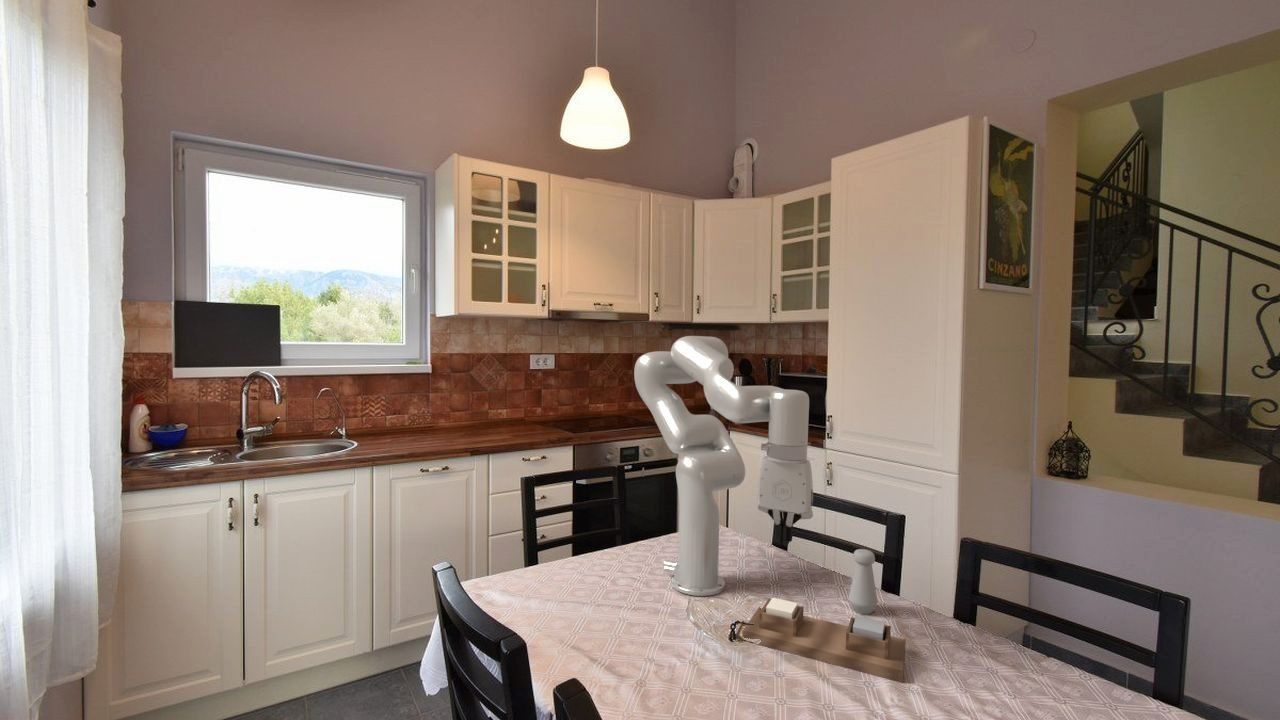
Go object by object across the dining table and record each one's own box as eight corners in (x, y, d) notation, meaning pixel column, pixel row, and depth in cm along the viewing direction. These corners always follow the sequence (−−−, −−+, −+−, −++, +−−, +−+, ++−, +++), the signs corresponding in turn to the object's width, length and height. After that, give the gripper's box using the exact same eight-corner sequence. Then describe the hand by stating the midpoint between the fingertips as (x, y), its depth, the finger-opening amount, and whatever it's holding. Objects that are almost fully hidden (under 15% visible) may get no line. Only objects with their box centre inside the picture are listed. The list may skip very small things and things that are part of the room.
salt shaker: (879, 618, 120) (881, 557, 119) (850, 614, 121) (852, 554, 121) (873, 605, 125) (875, 547, 125) (846, 603, 127) (848, 545, 126)
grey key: (852, 639, 103) (852, 626, 103) (855, 628, 108) (856, 615, 108) (882, 646, 101) (882, 633, 101) (884, 634, 105) (884, 621, 105)
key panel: (742, 640, 109) (743, 614, 109) (759, 615, 120) (760, 591, 120) (902, 682, 96) (902, 653, 96) (905, 649, 107) (906, 623, 107)
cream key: (765, 619, 111) (766, 607, 111) (772, 609, 115) (772, 597, 115) (791, 625, 108) (791, 613, 108) (797, 615, 113) (797, 603, 113)
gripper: (744, 450, 112) (741, 542, 113) (822, 460, 105) (818, 557, 106) (756, 445, 119) (752, 531, 120) (830, 453, 112) (826, 545, 112)
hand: (783, 543), depth 113 cm, fingers closed
